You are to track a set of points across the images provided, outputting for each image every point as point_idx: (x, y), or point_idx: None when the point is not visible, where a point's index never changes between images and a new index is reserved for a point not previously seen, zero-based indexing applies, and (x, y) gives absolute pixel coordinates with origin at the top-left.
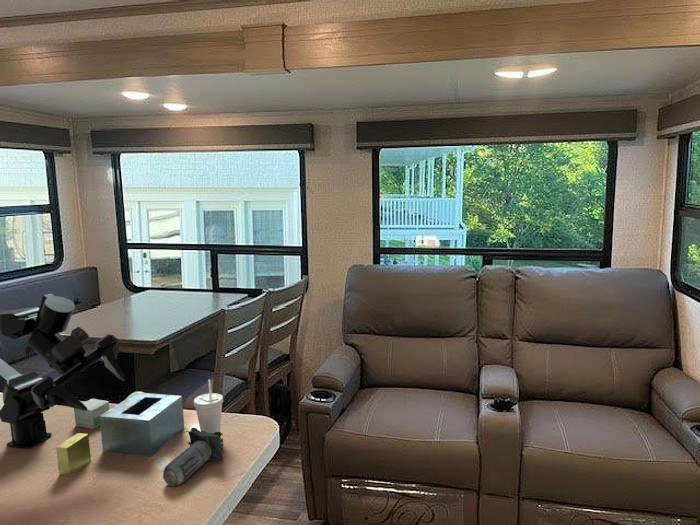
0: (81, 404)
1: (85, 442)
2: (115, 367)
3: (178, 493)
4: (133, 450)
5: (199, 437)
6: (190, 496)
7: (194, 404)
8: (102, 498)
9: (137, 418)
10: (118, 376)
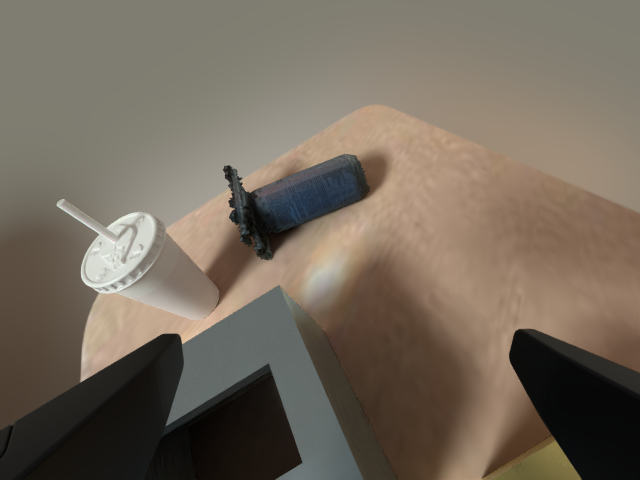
0: (561, 347)
1: (507, 468)
2: (77, 410)
3: (367, 165)
4: (348, 384)
5: (248, 204)
6: (358, 150)
7: (151, 261)
8: (499, 226)
9: (290, 333)
10: (157, 411)
